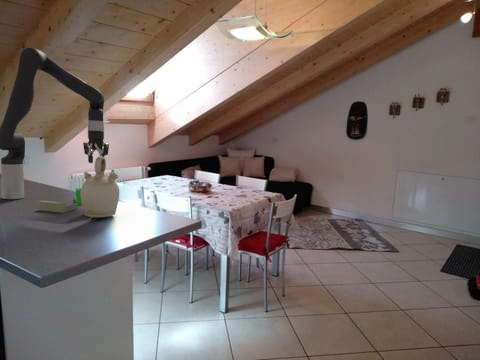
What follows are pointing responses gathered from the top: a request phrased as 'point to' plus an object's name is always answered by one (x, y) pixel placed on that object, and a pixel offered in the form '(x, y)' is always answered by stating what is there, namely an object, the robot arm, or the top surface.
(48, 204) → the low bench
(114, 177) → the jug
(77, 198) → the mechanical part
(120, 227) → the top surface
